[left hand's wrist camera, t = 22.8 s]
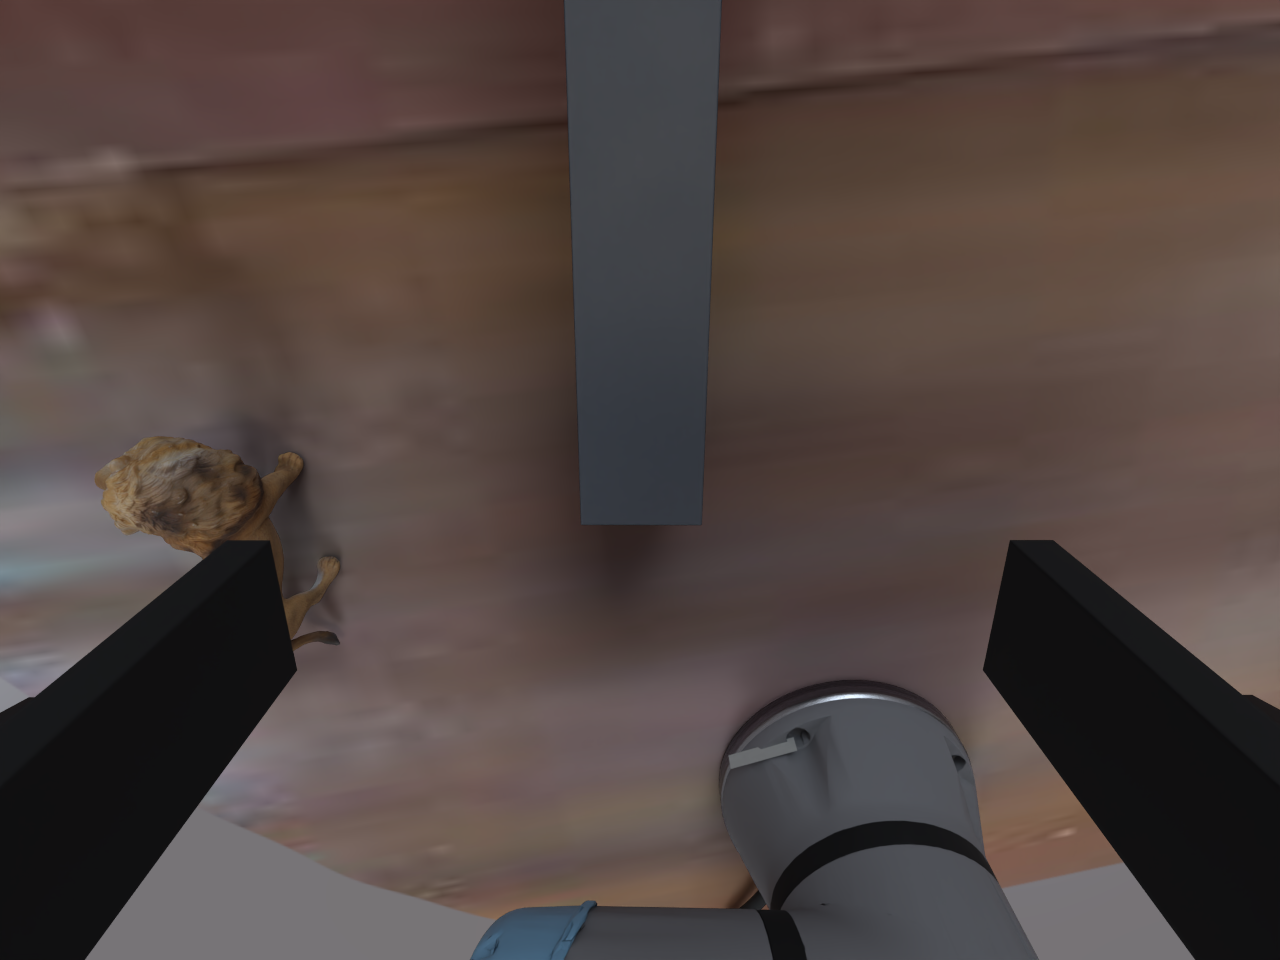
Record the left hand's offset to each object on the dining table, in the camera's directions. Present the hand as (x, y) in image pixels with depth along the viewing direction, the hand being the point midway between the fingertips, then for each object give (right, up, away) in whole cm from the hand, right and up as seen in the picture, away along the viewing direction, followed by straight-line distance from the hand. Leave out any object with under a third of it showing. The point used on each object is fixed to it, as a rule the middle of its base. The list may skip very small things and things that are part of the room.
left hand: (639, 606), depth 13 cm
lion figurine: (-19, 0, +25) cm, 32 cm away
